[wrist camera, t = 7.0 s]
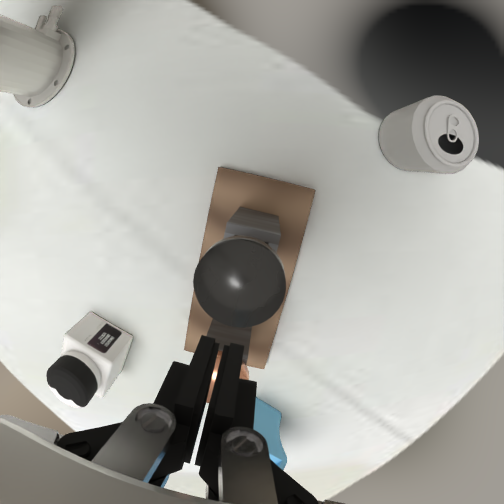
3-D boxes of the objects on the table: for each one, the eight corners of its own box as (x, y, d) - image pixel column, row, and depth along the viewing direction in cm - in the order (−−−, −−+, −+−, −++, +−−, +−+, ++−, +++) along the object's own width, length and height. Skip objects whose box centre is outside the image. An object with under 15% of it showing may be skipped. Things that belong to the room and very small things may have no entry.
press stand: (220, 167, 36) (196, 167, 24) (313, 189, 36) (333, 199, 24) (186, 344, 42) (161, 399, 31) (264, 363, 42) (260, 423, 31)
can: (374, 166, 35) (417, 167, 23) (377, 105, 33) (419, 83, 21) (428, 174, 34) (483, 181, 23) (430, 117, 32) (484, 103, 21)
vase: (285, 415, 45) (287, 523, 25) (253, 438, 47) (244, 538, 27) (246, 390, 44) (231, 503, 24) (215, 416, 46) (191, 519, 26)
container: (90, 309, 42) (41, 354, 29) (134, 335, 42) (94, 389, 30) (81, 346, 44) (39, 392, 31) (122, 370, 44) (86, 423, 32)
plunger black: (229, 206, 30) (202, 230, 18) (287, 219, 30) (296, 253, 18) (217, 261, 31) (187, 315, 20) (272, 274, 31) (272, 336, 20)
